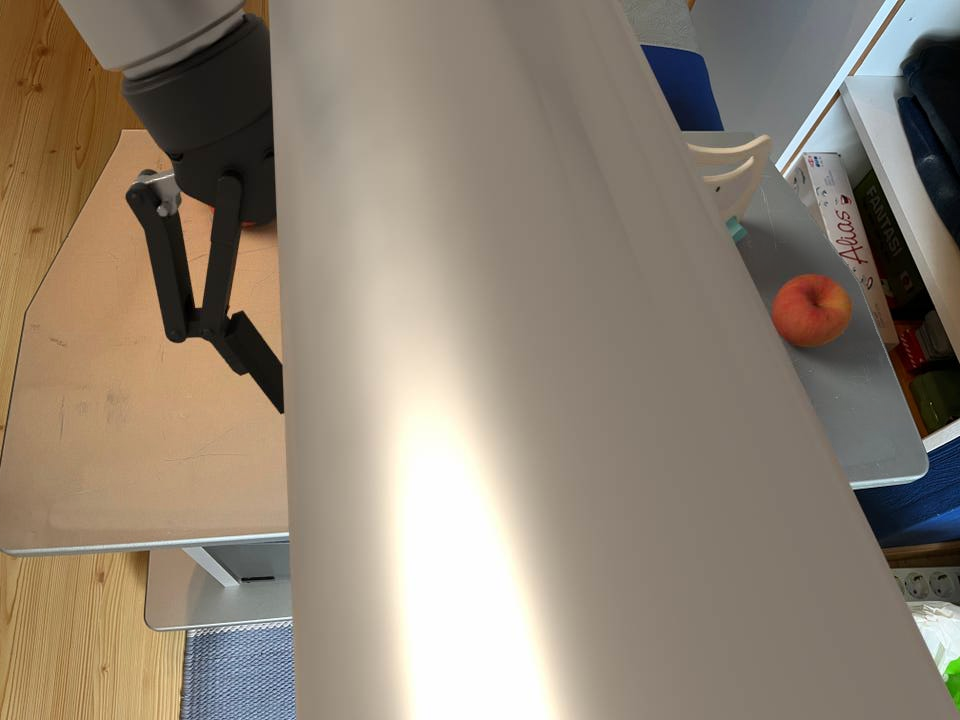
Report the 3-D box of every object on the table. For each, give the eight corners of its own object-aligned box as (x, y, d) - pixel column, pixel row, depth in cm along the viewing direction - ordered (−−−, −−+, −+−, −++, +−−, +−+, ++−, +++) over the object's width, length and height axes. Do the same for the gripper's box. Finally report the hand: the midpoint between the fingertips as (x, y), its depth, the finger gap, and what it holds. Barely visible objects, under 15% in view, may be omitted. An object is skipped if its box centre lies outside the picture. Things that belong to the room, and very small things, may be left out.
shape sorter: (569, 287, 79) (612, 172, 63) (561, 208, 84) (599, 84, 68) (746, 292, 81) (831, 182, 65) (728, 215, 86) (803, 96, 70)
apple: (838, 335, 80) (882, 295, 73) (799, 373, 77) (840, 335, 70) (785, 289, 82) (822, 246, 75) (744, 325, 79) (779, 284, 72)
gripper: (427, -83, 36) (559, 267, 48) (2, 115, 40) (225, 389, 53) (429, -56, 30) (578, 335, 42) (-70, 172, 34) (200, 466, 47)
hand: (383, 366), depth 48 cm, fingers open, 13 cm apart
